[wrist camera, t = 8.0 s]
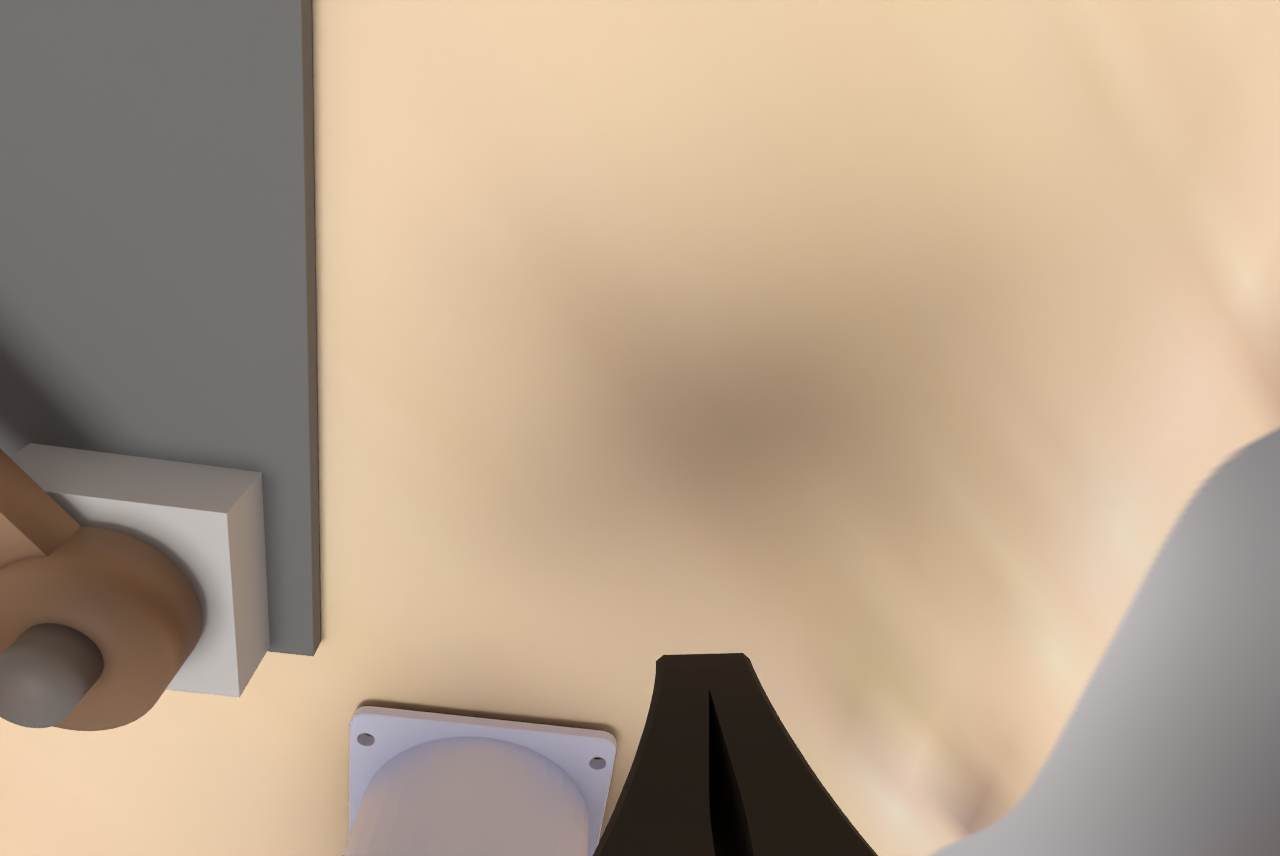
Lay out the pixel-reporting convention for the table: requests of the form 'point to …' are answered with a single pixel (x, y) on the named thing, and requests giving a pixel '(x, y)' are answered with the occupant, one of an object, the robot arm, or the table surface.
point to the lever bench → (169, 297)
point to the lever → (83, 616)
